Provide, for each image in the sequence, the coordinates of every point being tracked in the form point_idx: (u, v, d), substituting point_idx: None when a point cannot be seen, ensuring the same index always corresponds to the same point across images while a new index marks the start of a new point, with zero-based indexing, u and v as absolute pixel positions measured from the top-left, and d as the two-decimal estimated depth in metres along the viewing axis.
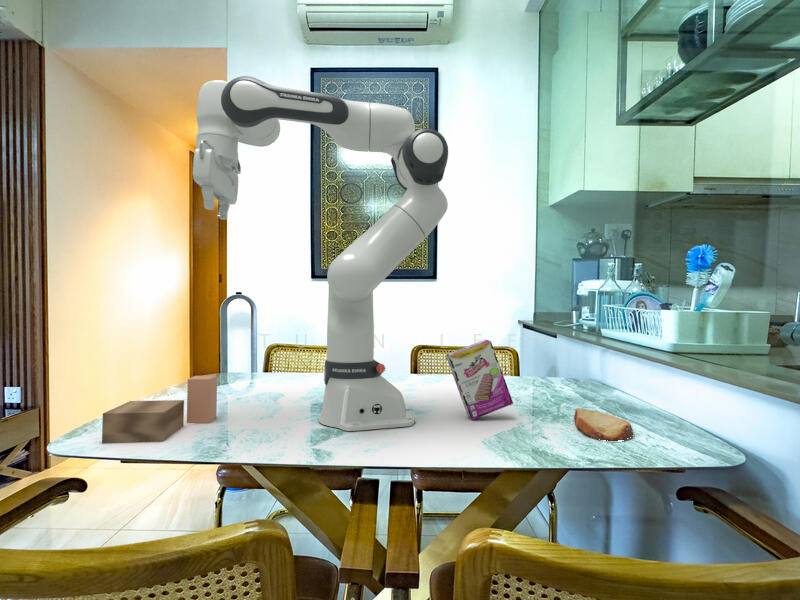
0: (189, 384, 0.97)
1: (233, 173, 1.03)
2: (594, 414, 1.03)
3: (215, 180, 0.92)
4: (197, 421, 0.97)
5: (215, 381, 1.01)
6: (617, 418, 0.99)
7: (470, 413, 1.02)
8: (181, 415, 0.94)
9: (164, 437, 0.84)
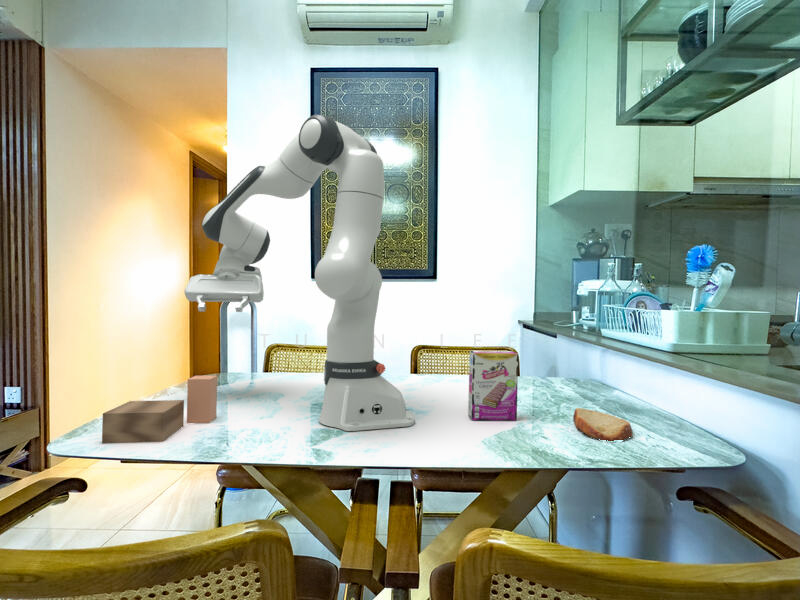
0: (189, 384, 0.97)
1: (243, 276, 1.19)
2: (593, 414, 1.03)
3: (198, 289, 1.15)
4: (197, 421, 0.97)
5: (215, 381, 1.01)
6: (616, 418, 0.99)
7: (473, 413, 1.02)
8: (181, 415, 0.94)
9: (164, 437, 0.84)
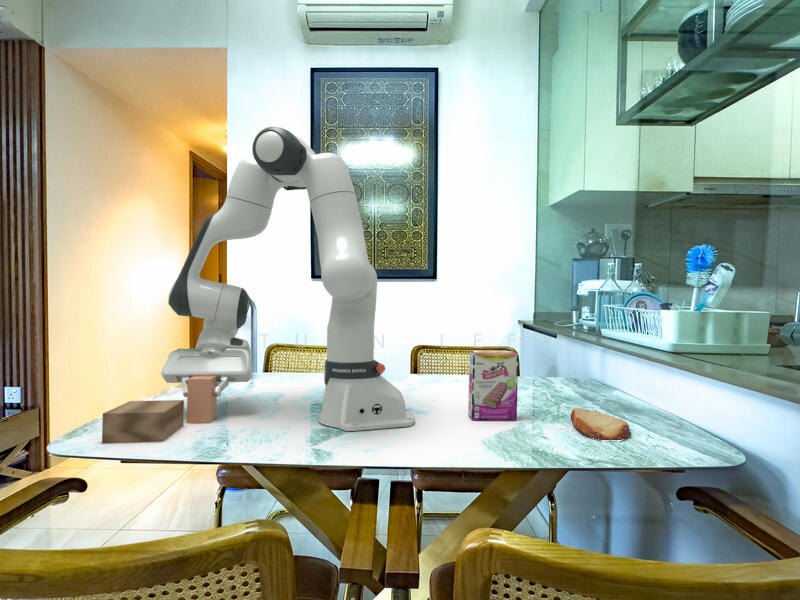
0: (189, 384, 0.97)
1: (229, 351, 1.05)
2: (590, 414, 1.04)
3: (177, 370, 1.01)
4: (197, 421, 0.97)
5: (215, 381, 1.01)
6: (614, 417, 1.00)
7: (473, 413, 1.02)
8: (181, 415, 0.94)
9: (164, 437, 0.84)
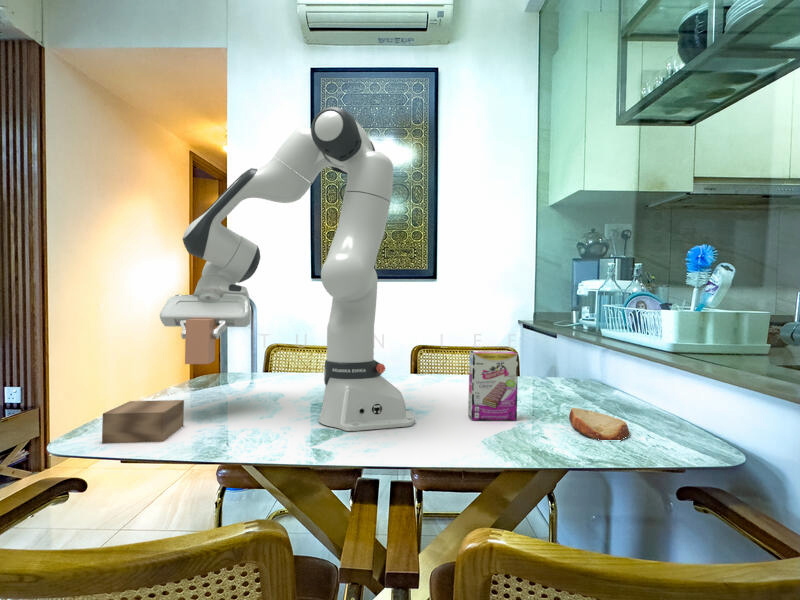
0: (187, 324, 0.96)
1: (227, 297, 1.05)
2: (589, 414, 1.04)
3: (175, 313, 1.01)
4: (195, 362, 0.97)
5: (213, 324, 1.01)
6: (612, 417, 1.00)
7: (473, 413, 1.02)
8: (181, 415, 0.94)
9: (164, 437, 0.84)
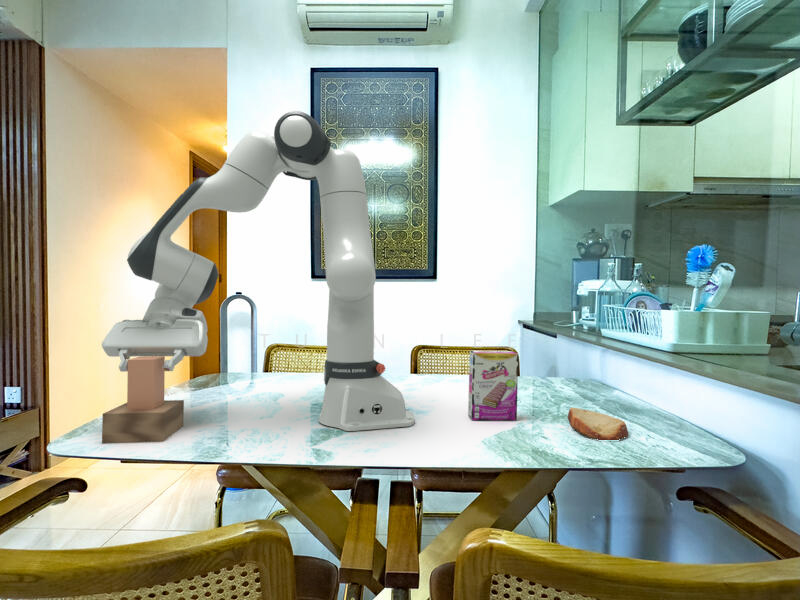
0: (129, 365, 0.86)
1: (180, 322, 0.95)
2: (587, 413, 1.04)
3: (119, 341, 0.90)
4: (139, 407, 0.86)
5: (162, 362, 0.90)
6: (611, 417, 1.00)
7: (473, 413, 1.02)
8: (181, 415, 0.94)
9: (164, 437, 0.84)
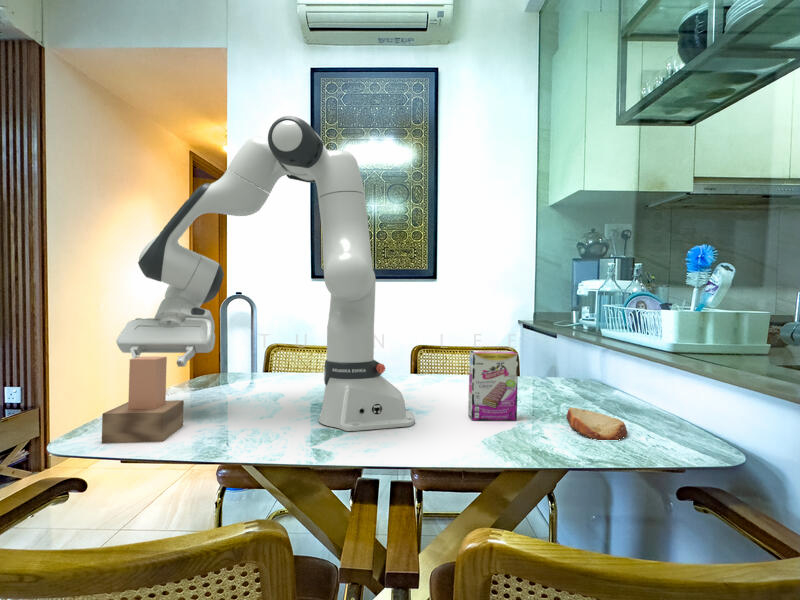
0: (131, 365, 0.86)
1: (189, 321, 1.01)
2: (586, 413, 1.04)
3: (133, 339, 0.96)
4: (140, 407, 0.86)
5: (163, 363, 0.90)
6: (610, 417, 1.00)
7: (473, 413, 1.02)
8: (181, 415, 0.93)
9: (164, 437, 0.84)
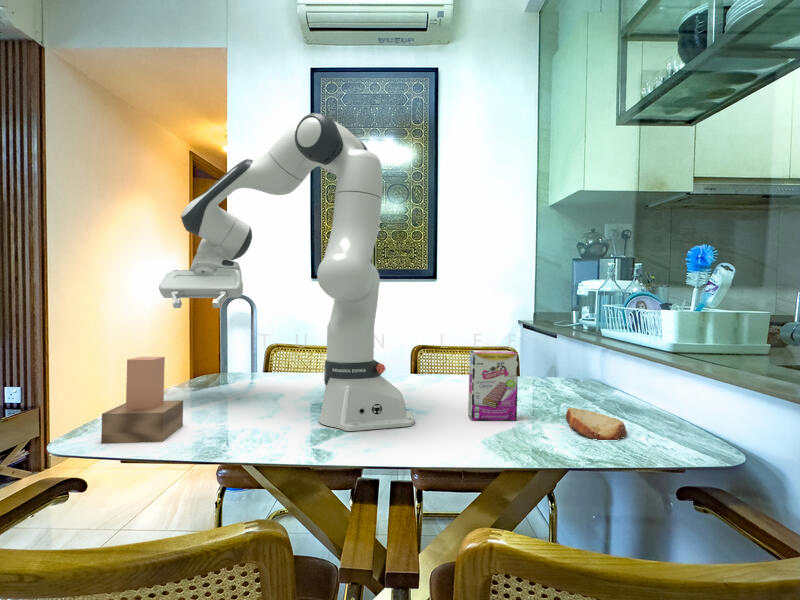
0: (129, 365, 0.86)
1: (221, 271, 1.15)
2: (585, 413, 1.04)
3: (173, 285, 1.10)
4: (137, 407, 0.86)
5: (161, 363, 0.90)
6: (609, 417, 1.00)
7: (473, 413, 1.02)
8: (181, 415, 0.93)
9: (163, 437, 0.84)
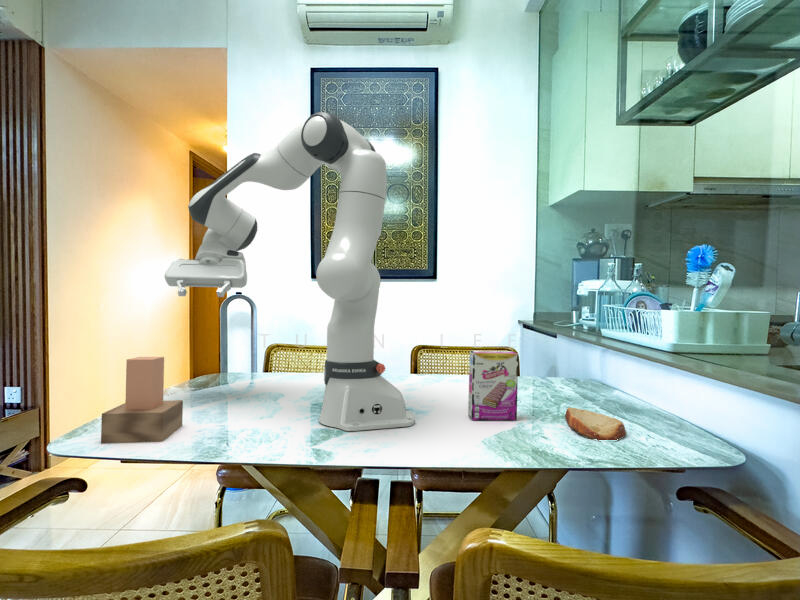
0: (128, 365, 0.86)
1: (225, 261, 1.16)
2: (585, 413, 1.04)
3: (178, 273, 1.12)
4: (137, 407, 0.86)
5: (161, 363, 0.90)
6: (608, 417, 1.00)
7: (473, 413, 1.02)
8: (180, 415, 0.94)
9: (163, 437, 0.84)
